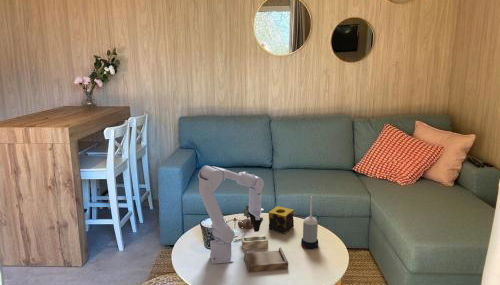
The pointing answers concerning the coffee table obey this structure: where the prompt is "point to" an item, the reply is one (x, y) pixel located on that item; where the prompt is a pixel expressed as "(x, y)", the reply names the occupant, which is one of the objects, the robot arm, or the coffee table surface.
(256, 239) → the tumbler tray
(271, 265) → the wooden tray
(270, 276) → the coffee table surface
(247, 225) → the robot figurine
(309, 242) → the humidifier
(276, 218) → the candle
